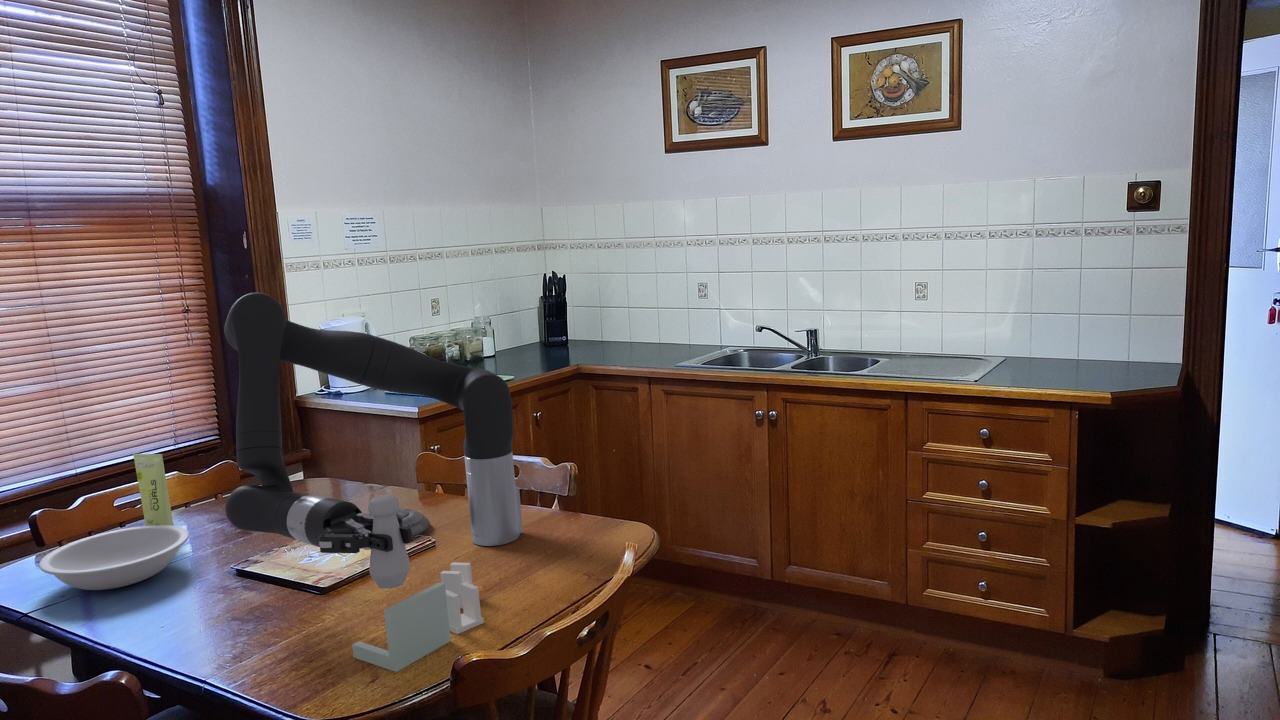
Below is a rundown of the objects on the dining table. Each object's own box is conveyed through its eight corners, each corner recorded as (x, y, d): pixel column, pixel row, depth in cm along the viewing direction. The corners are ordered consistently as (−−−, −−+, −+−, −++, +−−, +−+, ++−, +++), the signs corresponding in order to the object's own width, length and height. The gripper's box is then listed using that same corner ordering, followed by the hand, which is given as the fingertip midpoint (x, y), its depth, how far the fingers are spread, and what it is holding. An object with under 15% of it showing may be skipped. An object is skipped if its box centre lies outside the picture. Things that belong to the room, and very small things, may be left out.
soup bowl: (134, 552, 182) (129, 520, 181) (222, 562, 173) (217, 530, 172) (13, 601, 161) (7, 565, 160) (107, 616, 151) (101, 579, 150)
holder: (408, 628, 140) (402, 573, 138) (450, 640, 134) (444, 583, 133) (353, 657, 131) (346, 599, 130) (396, 672, 126) (389, 611, 124)
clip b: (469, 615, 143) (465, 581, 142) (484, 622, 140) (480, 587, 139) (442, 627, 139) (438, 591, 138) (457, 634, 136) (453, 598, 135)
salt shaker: (400, 592, 128) (391, 504, 126) (363, 590, 129) (354, 503, 127) (418, 575, 134) (410, 491, 132) (382, 574, 135) (374, 490, 133)
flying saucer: (341, 537, 184) (338, 511, 183) (408, 517, 194) (405, 493, 193) (375, 554, 173) (372, 526, 172) (444, 532, 183) (441, 506, 182)
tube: (144, 552, 181) (129, 458, 178) (147, 544, 186) (133, 453, 183) (175, 547, 184) (162, 454, 180) (177, 539, 188) (164, 448, 185)
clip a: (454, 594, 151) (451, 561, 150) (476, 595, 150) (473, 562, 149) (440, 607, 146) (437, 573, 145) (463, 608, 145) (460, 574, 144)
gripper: (281, 512, 132) (357, 530, 122) (359, 485, 143) (435, 500, 134) (286, 561, 133) (363, 583, 124) (363, 530, 145) (439, 548, 135)
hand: (400, 540), depth 129 cm, fingers closed on salt shaker, 3 cm apart
